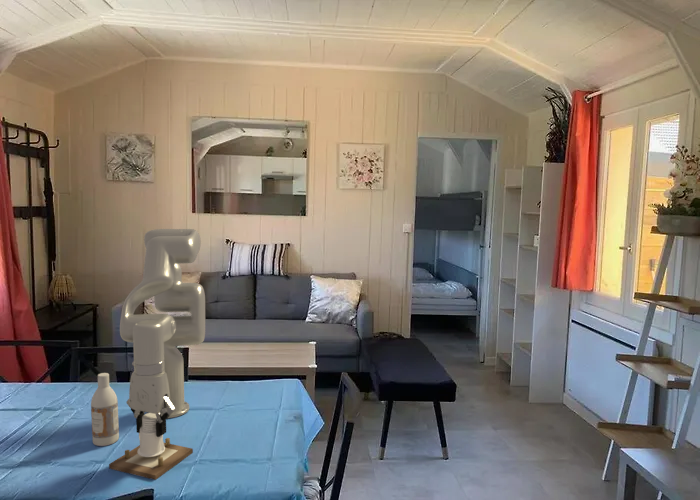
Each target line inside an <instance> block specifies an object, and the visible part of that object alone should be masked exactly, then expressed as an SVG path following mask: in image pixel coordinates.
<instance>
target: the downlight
mask: <svg viewBox="0 0 700 500" xmlns="http://www.w3.org/2000/svg"><path fill="white" fill-rule="evenodd" d="M144 414H145V415H143V417H142V427H141V428H140V433H138V440H139V445H140V448H139V449H138V451H137V453H138V455H140V456H142V457H154V456H158V455H160V454H162V453H163V452H164V451H165V446H164V443H165V442H164V434H163V435H162V436H160V437H157V436H156V423H157V422H158V420H157V417H156V414H154V413H148V412H146V413H144Z"/></svg>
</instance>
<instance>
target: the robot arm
mask: <svg viewBox="0 0 700 500" xmlns="http://www.w3.org/2000/svg"><path fill="white" fill-rule="evenodd" d="M143 240H144V242H143V243H144V247H145V256H144V262H143V263H144V264H143V265H144V266H143V273H142V274H143V275H142V280H141V282H140V283H139V284H137V285H136V286H134V288H133V289H132V290H131V291H130V292H129V294H128V295H127V297H126V298H125V300H124V302H123V305H122V306H121V307H122V309H121V314H120V320H119V322H120V323H119V335H120V338H121V339H122V340H123V341H125V342H127V343H132V345H133V347H132V348H133V361H132V363H131V365H132V366H133V369H134V371H132V373H131V376H130V380H129V390H128V391H129V393H128V394H129V395H128V396H129V398H128V399H127V401H126V404H127V406H128V407H129V409H130V410H131V412H132V413H133V418H135V420H136V421H135V422H136V425H135V426H136V433H138V434H139V433H140V428H141V427H142V417H143V415H145V414H146V413H154V414H156V417H157V420H158V422H157V423H156V436H157V437H160V436H162V435H163V436H164V435H165V434H166V433H167V420H168V419H171V418H172V419H173V418H176V417H181V416H183V415H185V414H187V413H188V412H189V411H190V404H189V403H188V402H186V401H185V376H184V375H185V374H184V373H185V372H184V364H185V363H184V357H183V354H182V352H180V350H179V349H178V348H177V347H180V346H183V347H184V346H197V345H201V344H203V342H204V341H205V337H206V295H205V294H206V293H205V289H204V287H203V285H201V284H200V283H198V282H183V281H182V280H183V279H182V277H183V270H182V269H183V268H182V266H181V265H180V264H192V263H193V264H194V262H195V261H196V260H197V257H198V255H199V251H200V249H201V244H202V243H201V242H202V241H201V235H200V233H199V231H198V230H196V229H194V228H157V229H151V230H148V231H146V233H145V234H144V237H143ZM153 297H154V298H153ZM151 298H153V299H154V301H153V302H154V308H155V309H156V310H157V311H158V312H160V313H145V314H143V313H142V314H134V313H135V311H136V310H137V308H138V307H139V305H141V304H143V303H144V302H145V301H148V300H149V299H151ZM161 312H162V313H161ZM168 313H190V315H185V316H184V315H182V316H181V315H178V316H177V315H175V316H174V315H170V314H168Z"/></svg>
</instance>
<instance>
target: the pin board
mask: <svg viewBox="0 0 700 500" xmlns="http://www.w3.org/2000/svg"><path fill="white" fill-rule="evenodd" d="M164 441H165V442H164V446H165V451H164V452H163V453H162V454H160V455H158V456H154V457H142V456H140V455H138V453H137V451H138V449H139V448H140V444H139V445H137V446H135V448H133V449H131V450H130V449H125V450H124V454H123V455H121V456H120V457H118V458H116V459H115V460H113V461H112V462H110V463H109V464H108V468H109V469H110V470H114V471H117V472H121V473H126V474H129V475H134V476H139V477H142V478H147V479H151V480H155V481H156V480H157V479H159V478H160V477H162V476H164V474H166V473H167V472H168V471H170V470H171V469H173V468H174V467H175V466H177V465H178V464H179V463H182V461H184V460H185V459H186V458H188V457H189V456H191V455H192V454H193V453H194V452H193V451H194V449H193V448H191V447H187V446H183V445H177V444H173V443H171V438H169V437H166V438H165V439H164Z"/></svg>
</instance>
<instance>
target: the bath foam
mask: <svg viewBox="0 0 700 500" xmlns="http://www.w3.org/2000/svg"><path fill="white" fill-rule="evenodd" d="M90 400H91V401H90V410H91V412H90V415H91V435H92V443H93V445H94V446H97V447H105V446H110V445H113V444H114V443H116V442H118V441H119V438H120V431H119V430H120V427H119V402H118V396H117V394H116V392H115V390H114V389H113V388H112V387H111V386H110V374H109V373H108V372H101V373H98V374H97V389H96V390H95V392H94V393H93V395H92V397H91V399H90Z"/></svg>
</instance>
